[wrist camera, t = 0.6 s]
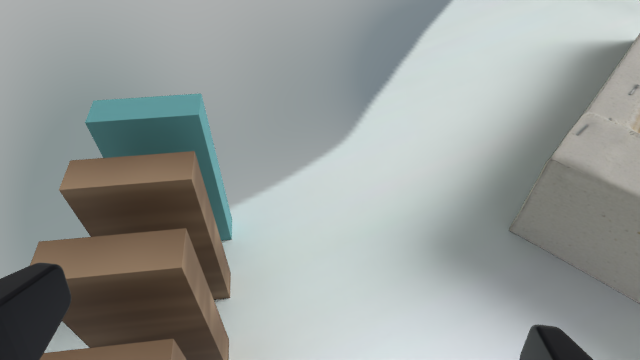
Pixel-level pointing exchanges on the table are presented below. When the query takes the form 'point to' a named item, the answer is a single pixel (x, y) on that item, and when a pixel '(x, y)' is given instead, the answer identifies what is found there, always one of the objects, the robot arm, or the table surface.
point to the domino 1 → (162, 138)
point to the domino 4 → (123, 352)
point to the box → (595, 187)
